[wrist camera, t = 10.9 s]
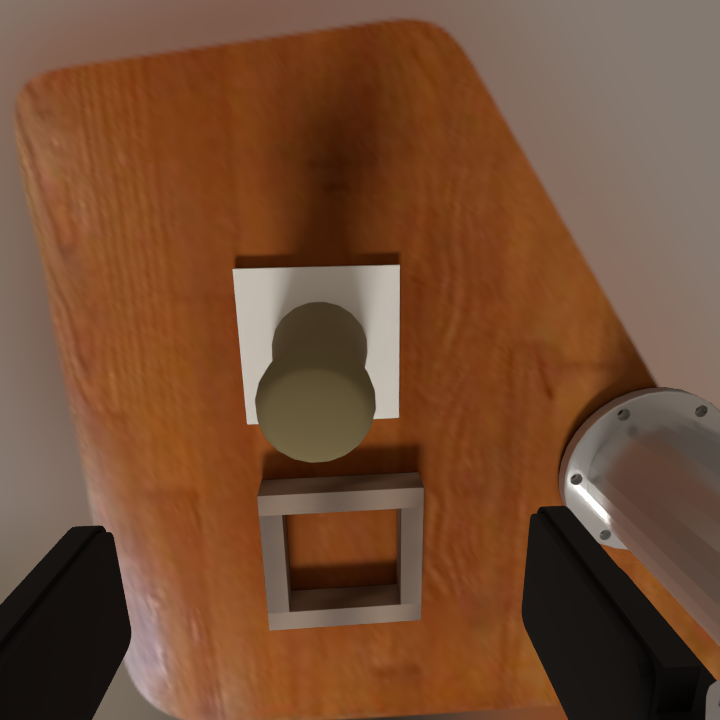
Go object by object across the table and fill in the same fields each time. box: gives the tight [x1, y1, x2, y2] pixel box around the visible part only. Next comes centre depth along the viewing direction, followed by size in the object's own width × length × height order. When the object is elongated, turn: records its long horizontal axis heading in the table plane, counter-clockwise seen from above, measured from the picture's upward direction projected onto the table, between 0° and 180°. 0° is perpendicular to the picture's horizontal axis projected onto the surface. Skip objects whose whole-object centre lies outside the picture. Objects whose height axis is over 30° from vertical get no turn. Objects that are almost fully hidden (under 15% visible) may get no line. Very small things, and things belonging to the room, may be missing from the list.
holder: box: [257, 472, 424, 630], centre depth 32 cm, size 11×11×2 cm
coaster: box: [233, 265, 400, 424], centre depth 29 cm, size 10×10×1 cm
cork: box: [255, 302, 376, 463], centre depth 23 cm, size 6×6×11 cm
